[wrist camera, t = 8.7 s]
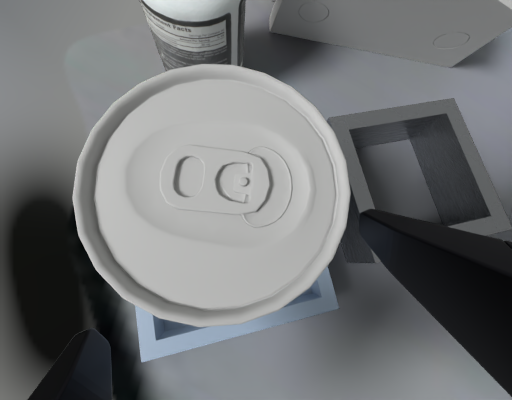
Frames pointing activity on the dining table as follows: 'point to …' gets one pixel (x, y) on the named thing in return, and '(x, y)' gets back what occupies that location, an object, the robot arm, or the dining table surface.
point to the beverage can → (211, 195)
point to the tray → (188, 337)
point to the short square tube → (432, 164)
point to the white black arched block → (397, 25)
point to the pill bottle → (197, 31)
